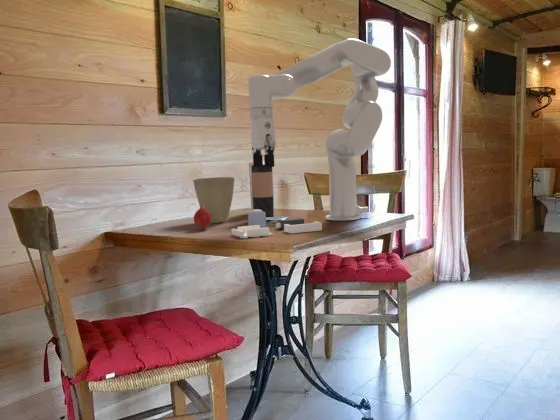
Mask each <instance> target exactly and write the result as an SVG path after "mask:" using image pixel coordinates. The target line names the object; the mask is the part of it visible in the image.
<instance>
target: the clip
mask: <svg viewBox="0 0 560 420" xmlns="http://www.w3.org/2000/svg"><path fill="white" fill-rule="evenodd" d="M322 230H323V223H322V222H320V221H316V220H315V221H313V222H311V223H304V224H298V225H288V224H284V233H286V232H287V233H286V234H297V233H298V234H300V233H308V232H317V231H322Z"/></svg>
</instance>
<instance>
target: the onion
mask: <svg viewBox="0 0 560 420" xmlns="http://www.w3.org/2000/svg"><path fill="white" fill-rule="evenodd" d="M211 219H212V218H211V214H210V213H209V211H208V210H206V209H205V208H204V206H201V208H200V207H199V208H198V209H197V210H196V212H195V213H194V215H193V223H194V224H195V226H197V227H198V228H199V229H201V230H202V231H203V230H205V229H207V228H208V226H210V225H211V224H212V223H211Z"/></svg>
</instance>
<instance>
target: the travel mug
mask: <svg viewBox="0 0 560 420" xmlns="http://www.w3.org/2000/svg"><path fill="white" fill-rule="evenodd" d="M273 174H274V173H273V167H265V165H263V166H262V167H254V166H253V165H252V197H253V210H256V209H259V210H262V211H263V212H266V217H275V215H274V213H275V211H274V210H275V209H274V207H275V206H274V205H275V204H274V201H275V199H274V195H275V194H274V180H273Z"/></svg>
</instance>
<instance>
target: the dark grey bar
mask: <svg viewBox="0 0 560 420" xmlns="http://www.w3.org/2000/svg"><path fill="white" fill-rule="evenodd" d="M284 224H288V225H298V224H305V219H304V218H299V217H298V218H289V219H287V218H286V219H278V220H277V222H276V223H275V228H276V229H278V228H279V230H281V229H284Z"/></svg>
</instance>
